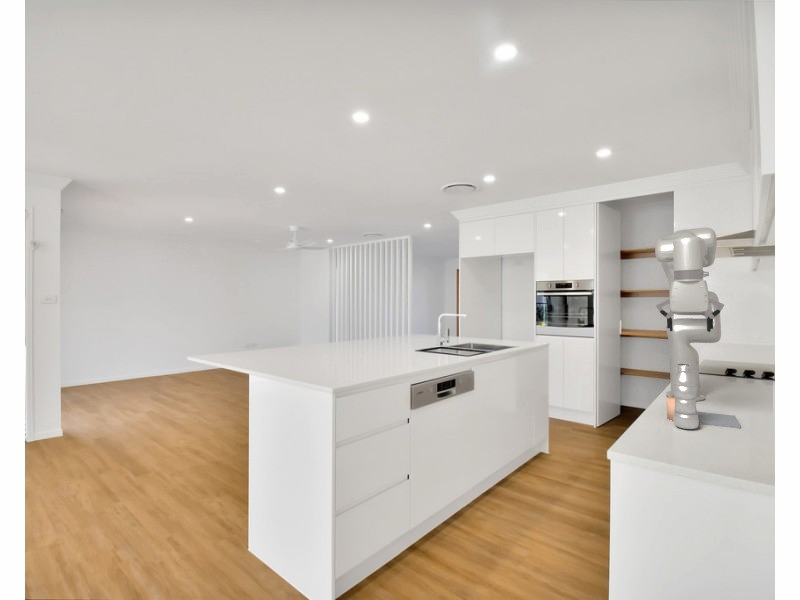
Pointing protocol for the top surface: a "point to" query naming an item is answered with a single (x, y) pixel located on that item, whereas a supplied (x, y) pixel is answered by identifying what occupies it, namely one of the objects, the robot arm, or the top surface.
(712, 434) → the top surface
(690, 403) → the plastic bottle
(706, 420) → the slate mat
